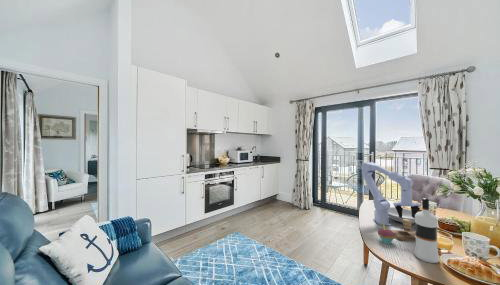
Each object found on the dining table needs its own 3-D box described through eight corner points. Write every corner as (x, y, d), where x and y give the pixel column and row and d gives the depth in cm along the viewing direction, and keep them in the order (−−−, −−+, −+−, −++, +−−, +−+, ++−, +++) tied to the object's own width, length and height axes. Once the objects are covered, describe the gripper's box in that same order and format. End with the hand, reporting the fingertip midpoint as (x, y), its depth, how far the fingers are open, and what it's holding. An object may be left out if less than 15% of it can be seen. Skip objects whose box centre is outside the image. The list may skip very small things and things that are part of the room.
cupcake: (387, 246, 108) (387, 225, 108) (374, 239, 116) (373, 219, 116) (399, 244, 110) (398, 223, 110) (385, 237, 119) (384, 217, 119)
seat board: (390, 232, 124) (390, 229, 124) (421, 234, 121) (421, 231, 121) (398, 239, 115) (398, 236, 115) (433, 242, 112) (432, 238, 112)
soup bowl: (408, 215, 152) (408, 207, 152) (434, 229, 128) (434, 219, 128) (376, 214, 155) (376, 206, 155) (396, 228, 131) (396, 218, 131)
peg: (401, 229, 128) (401, 219, 128) (408, 229, 128) (408, 219, 128) (405, 232, 124) (405, 221, 124) (413, 233, 123) (413, 222, 123)
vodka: (413, 258, 97) (412, 198, 97) (414, 251, 103) (413, 194, 103) (439, 266, 90) (438, 202, 90) (439, 257, 97) (438, 198, 97)
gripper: (397, 197, 123) (398, 219, 123) (423, 198, 121) (424, 220, 121) (391, 195, 130) (392, 215, 130) (415, 195, 128) (416, 216, 128)
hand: (406, 217), depth 126 cm, fingers open, 7 cm apart
